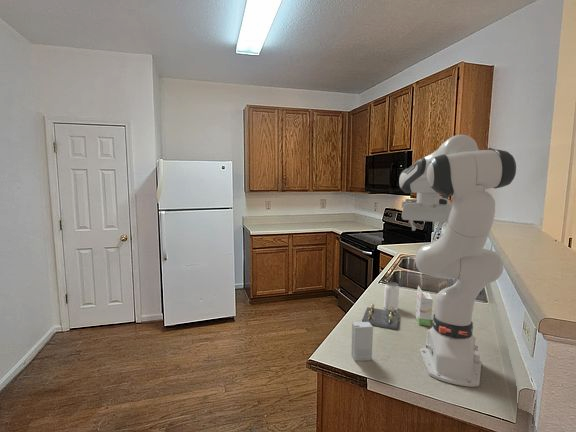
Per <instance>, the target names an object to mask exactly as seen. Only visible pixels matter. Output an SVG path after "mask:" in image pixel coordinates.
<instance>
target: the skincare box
mask: <svg viewBox="0 0 576 432" xmlns="http://www.w3.org/2000/svg"><path fill="white" fill-rule="evenodd" d="M351 324H352V325H351V356H352V358H353V360H354V362H361V361H362V362H363V361H364V362H365V361H372V360H373V338H374V337H373V335H374V326H373V325H371V324H370V323H369V322H362V321H355V322H354V321H353V322H352V323H351Z"/></svg>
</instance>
